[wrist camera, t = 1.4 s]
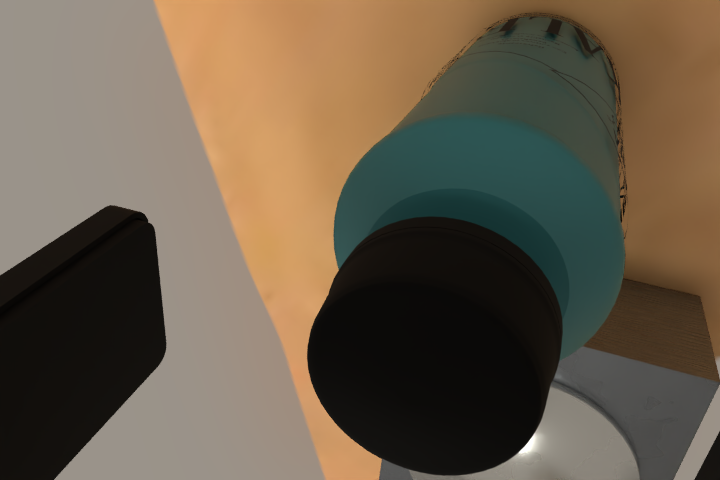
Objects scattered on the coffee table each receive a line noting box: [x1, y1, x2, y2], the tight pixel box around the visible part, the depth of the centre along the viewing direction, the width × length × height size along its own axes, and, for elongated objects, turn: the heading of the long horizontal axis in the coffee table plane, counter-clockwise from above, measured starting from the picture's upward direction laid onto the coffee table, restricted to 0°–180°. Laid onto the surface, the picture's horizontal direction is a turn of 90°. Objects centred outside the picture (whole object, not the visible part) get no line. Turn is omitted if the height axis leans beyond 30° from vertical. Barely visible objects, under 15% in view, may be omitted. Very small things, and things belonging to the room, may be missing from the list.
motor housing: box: [379, 279, 720, 480], centre depth 31 cm, size 18×12×6 cm, turn 176°
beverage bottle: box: [307, 13, 628, 476], centre depth 18 cm, size 6×7×20 cm
